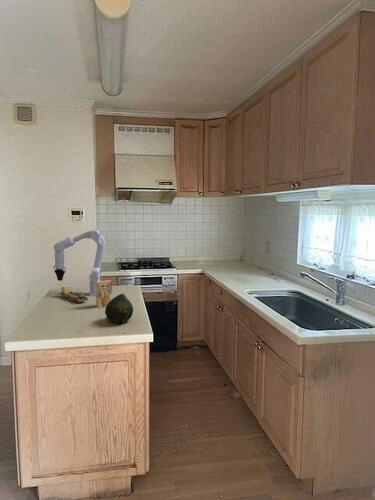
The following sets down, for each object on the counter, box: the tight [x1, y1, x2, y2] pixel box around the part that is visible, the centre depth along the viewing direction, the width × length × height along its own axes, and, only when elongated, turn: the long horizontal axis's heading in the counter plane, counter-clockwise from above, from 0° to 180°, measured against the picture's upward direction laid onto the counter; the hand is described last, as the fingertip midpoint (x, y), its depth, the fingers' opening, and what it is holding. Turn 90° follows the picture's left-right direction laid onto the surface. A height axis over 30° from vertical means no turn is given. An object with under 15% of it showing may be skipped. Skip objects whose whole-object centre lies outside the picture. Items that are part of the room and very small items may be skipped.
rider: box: [61, 285, 71, 294], centre depth 244 cm, size 4×4×4 cm
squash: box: [104, 293, 134, 324], centre depth 197 cm, size 14×15×15 cm
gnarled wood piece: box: [59, 290, 89, 303], centre depth 237 cm, size 24×7×6 cm, turn 46°
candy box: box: [95, 279, 113, 309], centre depth 223 cm, size 9×4×15 cm, turn 129°
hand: (60, 280), depth 248 cm, fingers closed
